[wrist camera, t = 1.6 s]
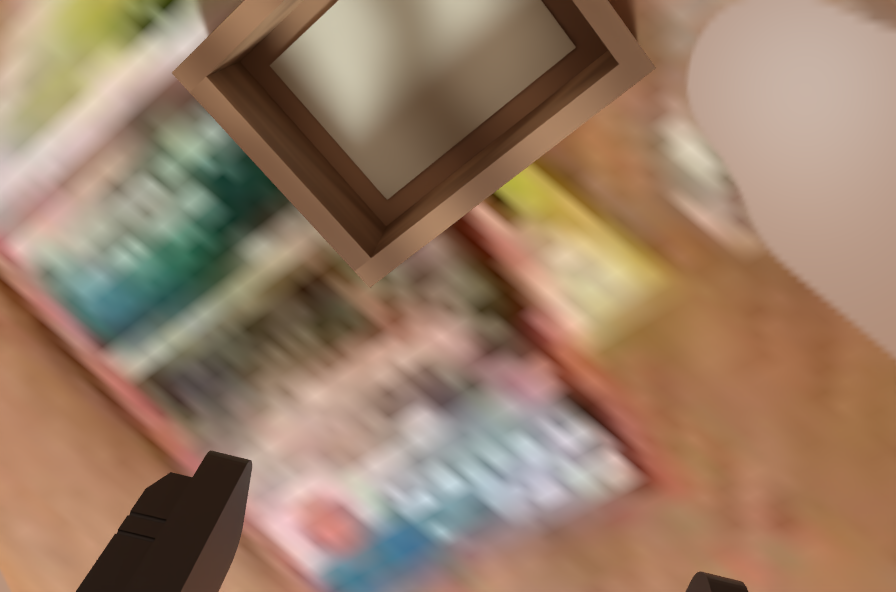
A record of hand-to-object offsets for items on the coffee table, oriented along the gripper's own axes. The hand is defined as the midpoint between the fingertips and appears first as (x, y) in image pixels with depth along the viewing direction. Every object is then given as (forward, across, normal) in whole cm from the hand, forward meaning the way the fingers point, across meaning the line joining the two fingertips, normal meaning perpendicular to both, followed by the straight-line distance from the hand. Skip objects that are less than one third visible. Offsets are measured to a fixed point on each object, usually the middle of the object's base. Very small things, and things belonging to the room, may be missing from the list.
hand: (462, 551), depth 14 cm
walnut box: (+26, +5, -4) cm, 27 cm away
